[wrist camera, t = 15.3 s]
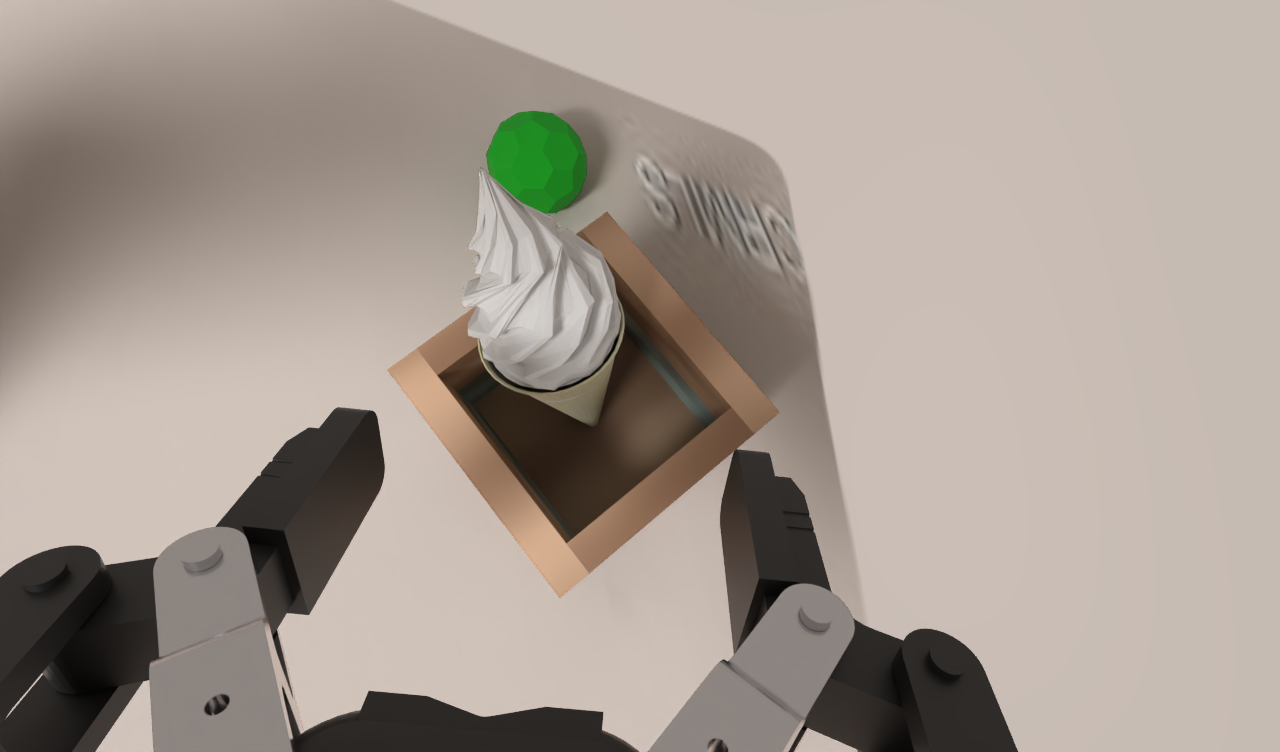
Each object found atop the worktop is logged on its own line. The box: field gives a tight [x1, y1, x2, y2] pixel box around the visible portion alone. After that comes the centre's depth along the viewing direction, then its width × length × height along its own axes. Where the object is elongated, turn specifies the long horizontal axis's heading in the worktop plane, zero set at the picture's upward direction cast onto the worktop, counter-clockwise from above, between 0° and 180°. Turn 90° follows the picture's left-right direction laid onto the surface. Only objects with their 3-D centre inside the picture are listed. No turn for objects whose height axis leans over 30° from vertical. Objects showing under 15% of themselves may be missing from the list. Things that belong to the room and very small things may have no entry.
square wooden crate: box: [388, 212, 779, 598], centre depth 26 cm, size 10×10×9 cm
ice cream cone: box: [461, 168, 625, 427], centre depth 21 cm, size 5×5×15 cm
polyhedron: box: [486, 111, 587, 213], centre depth 31 cm, size 5×5×5 cm
